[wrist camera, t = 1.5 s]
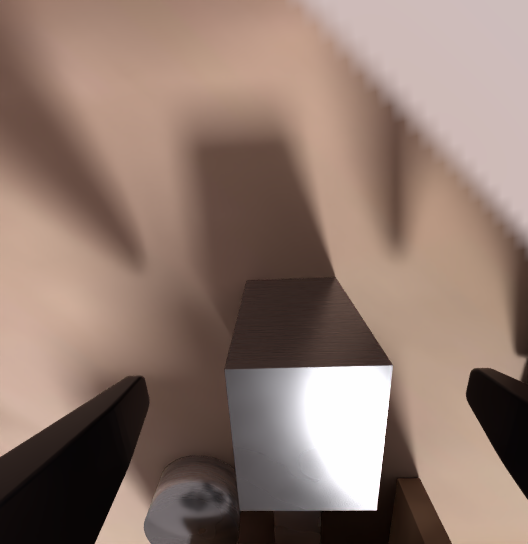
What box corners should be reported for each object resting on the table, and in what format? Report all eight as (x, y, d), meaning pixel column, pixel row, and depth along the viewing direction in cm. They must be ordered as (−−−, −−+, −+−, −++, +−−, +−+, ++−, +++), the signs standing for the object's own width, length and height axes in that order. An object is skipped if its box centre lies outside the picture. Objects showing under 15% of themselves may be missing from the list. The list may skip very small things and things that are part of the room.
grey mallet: (335, 277, 10) (392, 365, 5) (327, 514, 14) (356, 688, 9) (246, 280, 10) (224, 369, 5) (263, 514, 14) (259, 685, 9)
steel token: (239, 451, 13) (234, 498, 11) (245, 510, 14) (241, 561, 12) (155, 453, 13) (135, 499, 11) (168, 511, 14) (152, 561, 13)
